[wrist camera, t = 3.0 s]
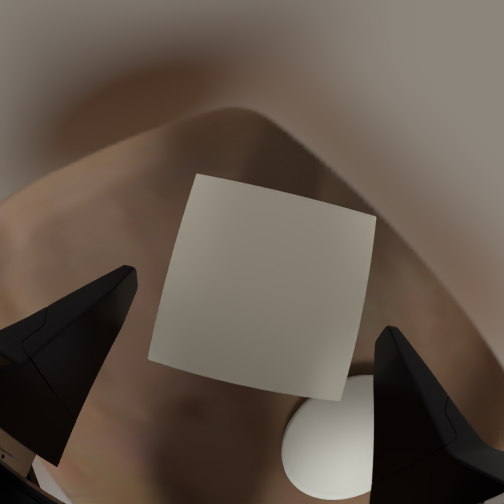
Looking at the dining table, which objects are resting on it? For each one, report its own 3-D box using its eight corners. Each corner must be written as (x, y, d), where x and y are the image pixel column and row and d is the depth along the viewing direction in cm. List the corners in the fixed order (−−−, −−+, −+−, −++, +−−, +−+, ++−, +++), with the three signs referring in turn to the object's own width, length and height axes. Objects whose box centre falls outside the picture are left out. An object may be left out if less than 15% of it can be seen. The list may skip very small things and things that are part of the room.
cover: (292, 355, 17) (340, 401, 8) (197, 333, 17) (147, 359, 8) (313, 261, 18) (376, 216, 9) (220, 239, 18) (196, 173, 9)
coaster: (400, 480, 15) (404, 484, 14) (276, 499, 15) (277, 505, 14) (422, 367, 17) (428, 369, 16) (285, 378, 17) (287, 381, 16)
